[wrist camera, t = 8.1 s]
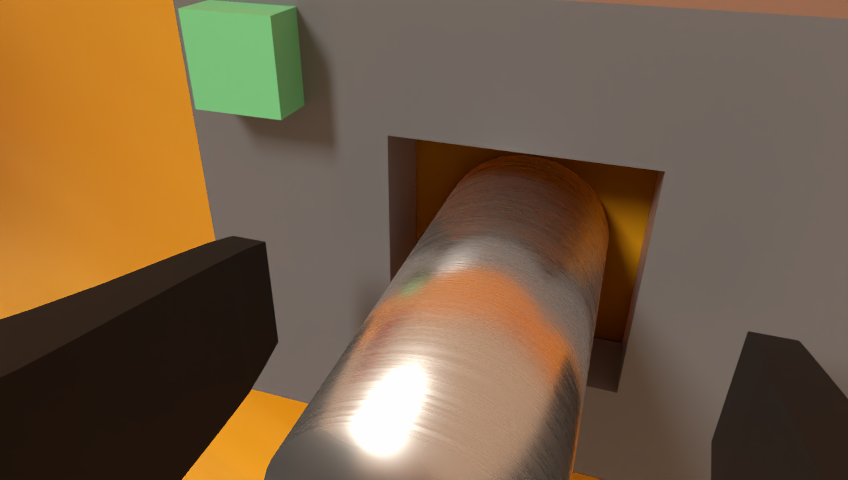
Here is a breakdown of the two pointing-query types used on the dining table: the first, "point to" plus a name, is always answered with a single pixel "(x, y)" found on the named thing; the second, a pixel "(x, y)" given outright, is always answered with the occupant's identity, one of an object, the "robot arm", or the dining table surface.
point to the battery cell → (470, 342)
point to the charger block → (555, 137)
